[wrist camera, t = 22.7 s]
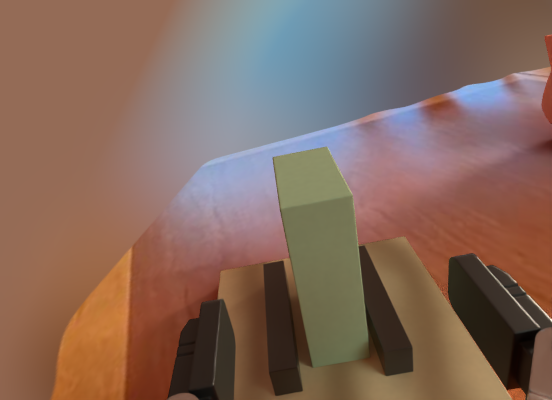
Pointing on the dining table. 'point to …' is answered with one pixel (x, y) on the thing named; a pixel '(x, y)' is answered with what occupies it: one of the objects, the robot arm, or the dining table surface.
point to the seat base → (381, 335)
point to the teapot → (548, 84)
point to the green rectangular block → (323, 255)
